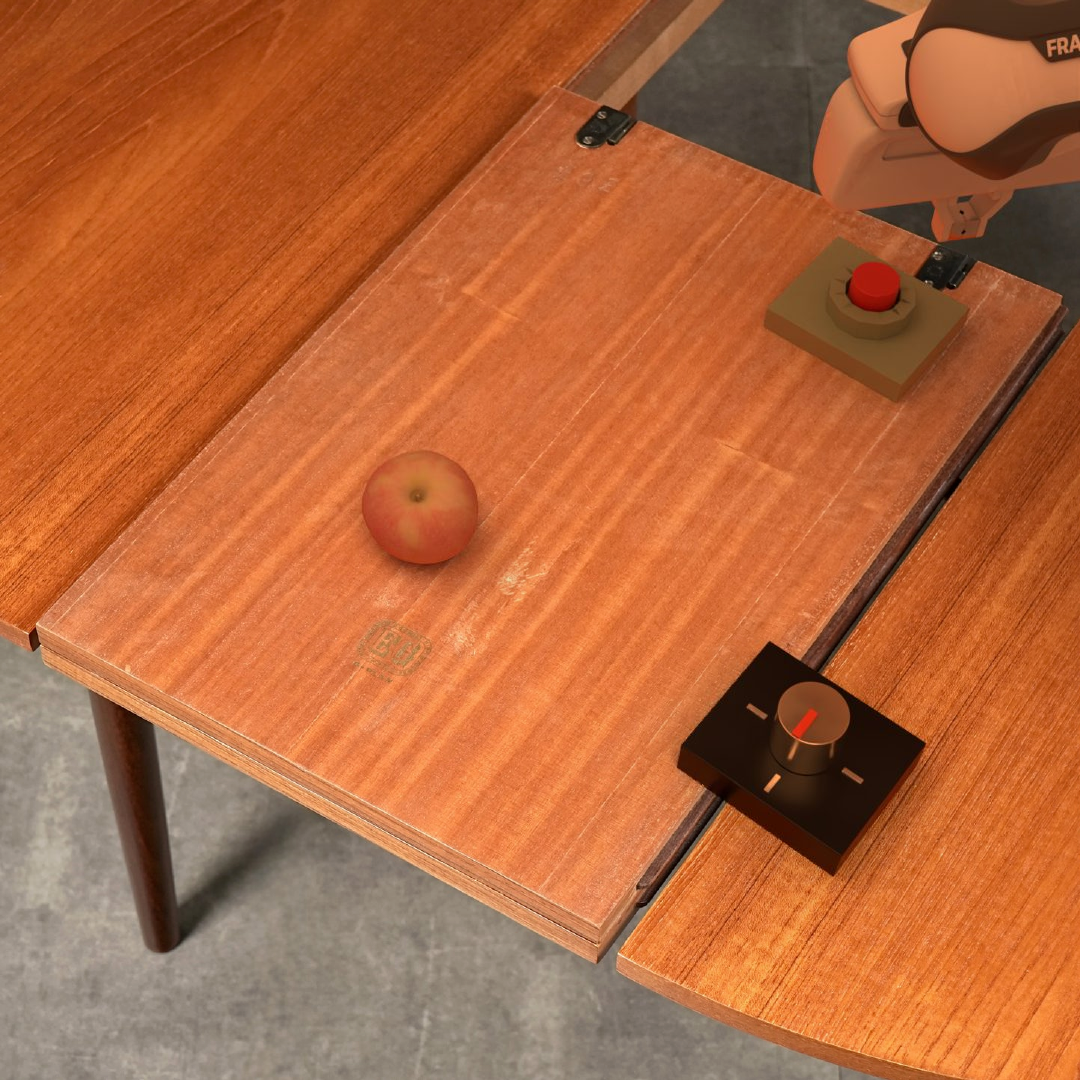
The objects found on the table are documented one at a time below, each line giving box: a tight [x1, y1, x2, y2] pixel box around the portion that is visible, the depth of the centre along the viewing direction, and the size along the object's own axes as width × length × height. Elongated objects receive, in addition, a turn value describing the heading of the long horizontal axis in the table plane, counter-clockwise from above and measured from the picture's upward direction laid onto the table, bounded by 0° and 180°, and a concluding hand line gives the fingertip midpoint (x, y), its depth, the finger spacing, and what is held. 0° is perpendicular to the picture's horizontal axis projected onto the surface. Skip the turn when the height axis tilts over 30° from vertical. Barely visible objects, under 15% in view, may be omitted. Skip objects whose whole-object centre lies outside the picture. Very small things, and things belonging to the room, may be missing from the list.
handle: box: [769, 682, 850, 775], centre depth 105 cm, size 4×4×4 cm
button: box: [849, 262, 900, 312], centre depth 128 cm, size 4×4×2 cm
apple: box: [361, 449, 479, 565], centre depth 115 cm, size 8×8×8 cm
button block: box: [763, 235, 971, 404], centre depth 130 cm, size 12×10×4 cm
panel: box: [676, 640, 927, 877], centre depth 108 cm, size 12×10×3 cm
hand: (956, 233), depth 109 cm, fingers closed
